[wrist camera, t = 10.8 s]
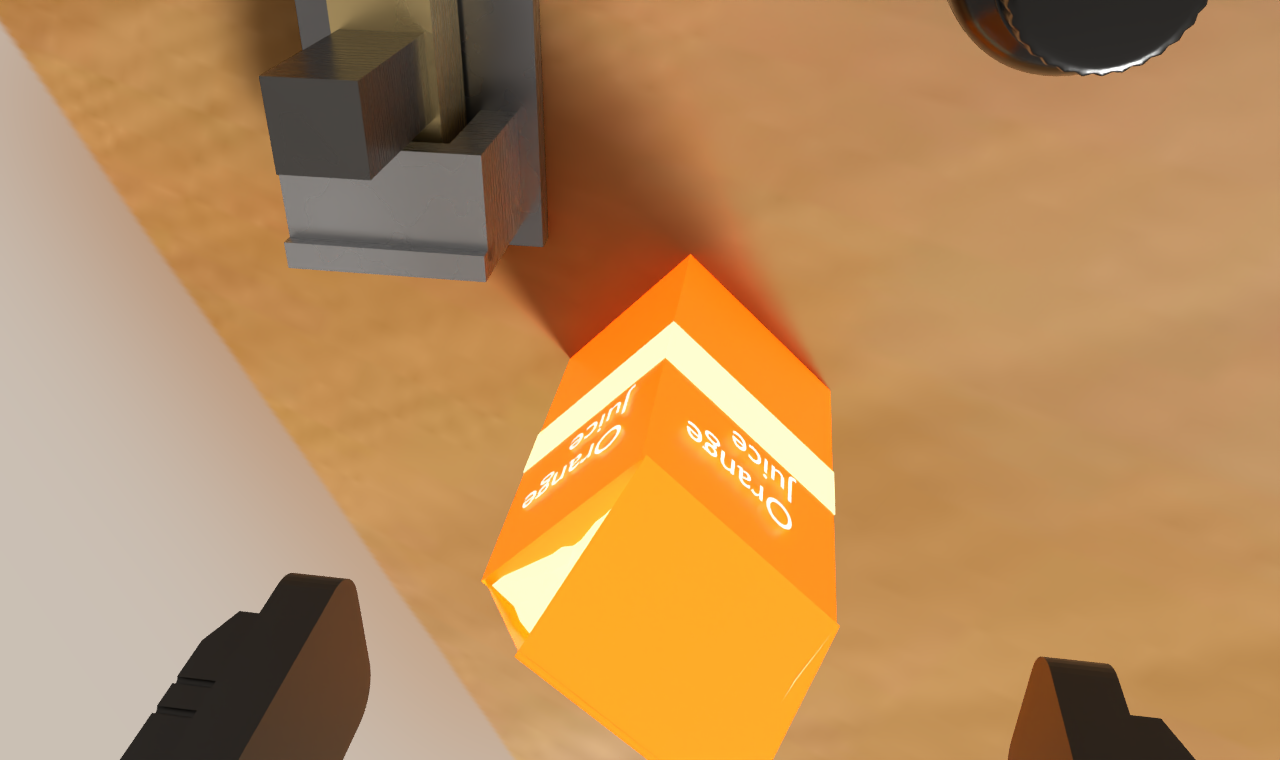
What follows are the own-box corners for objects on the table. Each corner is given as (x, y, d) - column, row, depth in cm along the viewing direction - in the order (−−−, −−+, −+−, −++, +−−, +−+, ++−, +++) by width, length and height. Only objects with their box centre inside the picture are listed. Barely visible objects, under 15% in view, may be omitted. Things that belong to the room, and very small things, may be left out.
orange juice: (705, 483, 48) (646, 877, 31) (566, 358, 46) (422, 714, 29) (835, 389, 45) (848, 777, 28) (692, 249, 42) (612, 581, 25)
